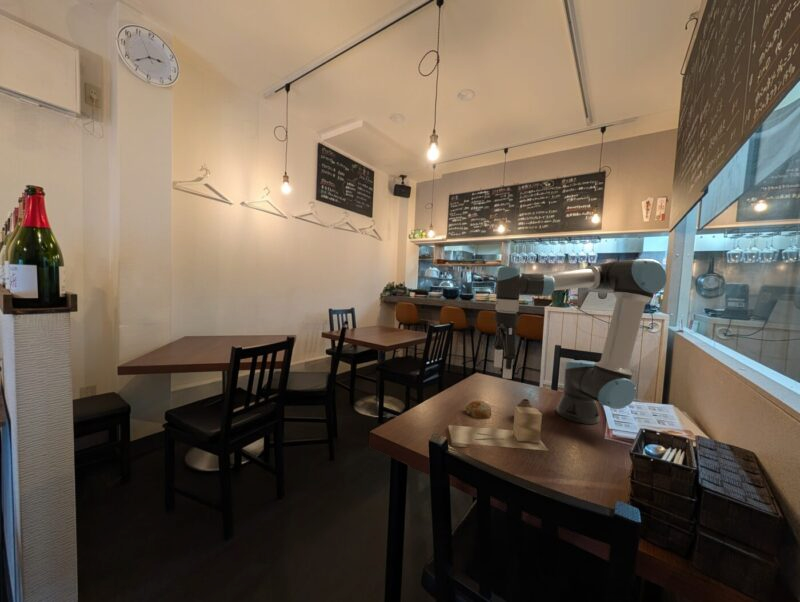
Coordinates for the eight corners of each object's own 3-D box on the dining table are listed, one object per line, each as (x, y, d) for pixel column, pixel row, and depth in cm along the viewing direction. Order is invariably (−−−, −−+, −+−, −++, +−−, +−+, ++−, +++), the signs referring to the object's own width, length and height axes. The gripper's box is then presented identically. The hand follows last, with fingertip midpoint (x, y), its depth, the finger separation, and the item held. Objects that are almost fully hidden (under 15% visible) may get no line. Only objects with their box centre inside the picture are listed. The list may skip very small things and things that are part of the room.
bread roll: (487, 432, 117) (497, 415, 116) (462, 417, 118) (473, 400, 117) (485, 421, 127) (495, 405, 125) (462, 407, 128) (472, 391, 127)
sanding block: (533, 436, 105) (536, 408, 105) (539, 444, 100) (541, 414, 100) (512, 434, 106) (515, 406, 105) (517, 442, 101) (519, 412, 100)
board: (534, 435, 109) (534, 432, 109) (548, 454, 97) (548, 450, 97) (448, 428, 110) (448, 425, 110) (452, 445, 98) (452, 442, 98)
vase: (511, 421, 119) (513, 399, 118) (518, 416, 124) (520, 395, 123) (529, 428, 114) (531, 405, 114) (536, 422, 119) (538, 400, 119)
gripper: (488, 308, 119) (484, 362, 120) (504, 314, 94) (499, 382, 96) (508, 309, 118) (504, 363, 120) (529, 316, 94) (524, 384, 95)
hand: (502, 372), depth 108 cm, fingers open, 13 cm apart
